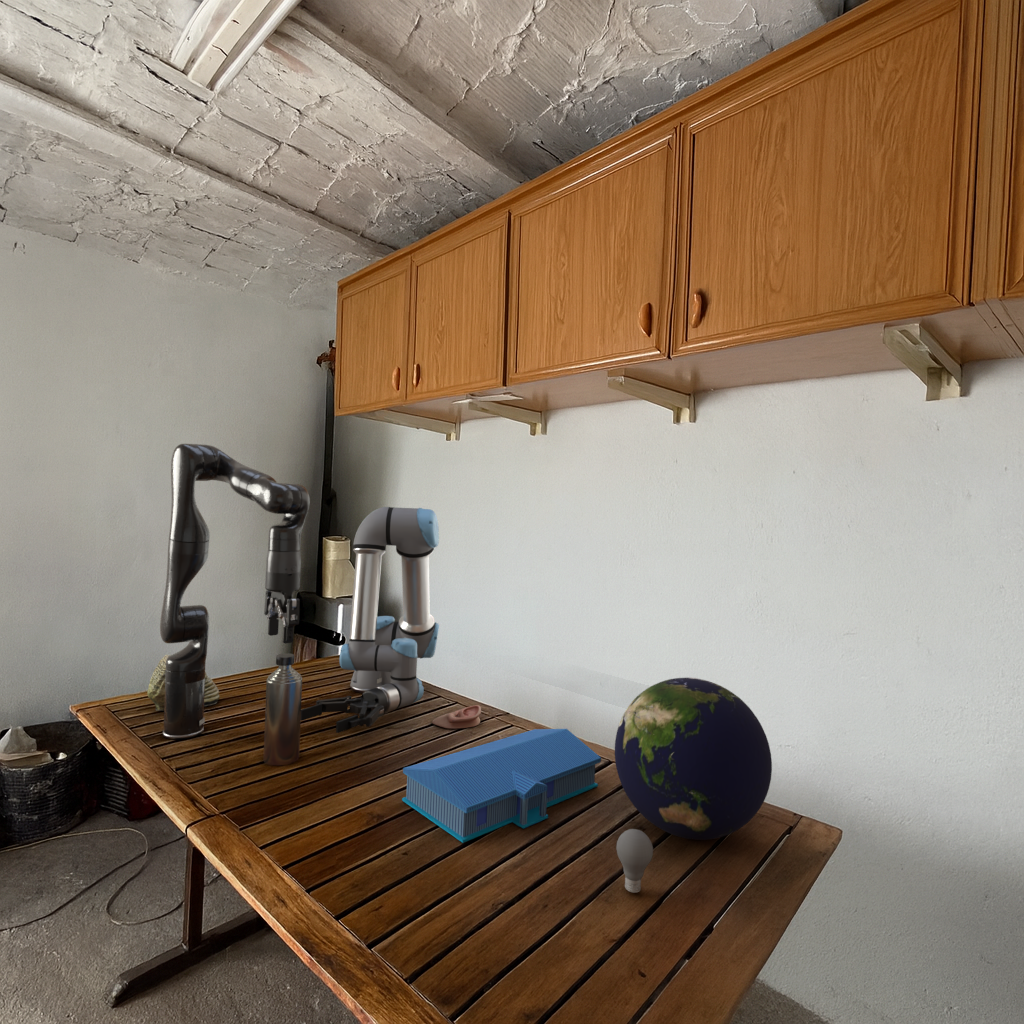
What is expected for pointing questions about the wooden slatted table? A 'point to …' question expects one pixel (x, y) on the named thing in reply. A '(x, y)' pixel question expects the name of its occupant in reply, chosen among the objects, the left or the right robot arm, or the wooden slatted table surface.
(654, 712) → the globe
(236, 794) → the wooden slatted table surface
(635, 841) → the light bulb
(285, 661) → the cap
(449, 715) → the anatomical model
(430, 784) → the model building
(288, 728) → the bottle
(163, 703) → the fossil
